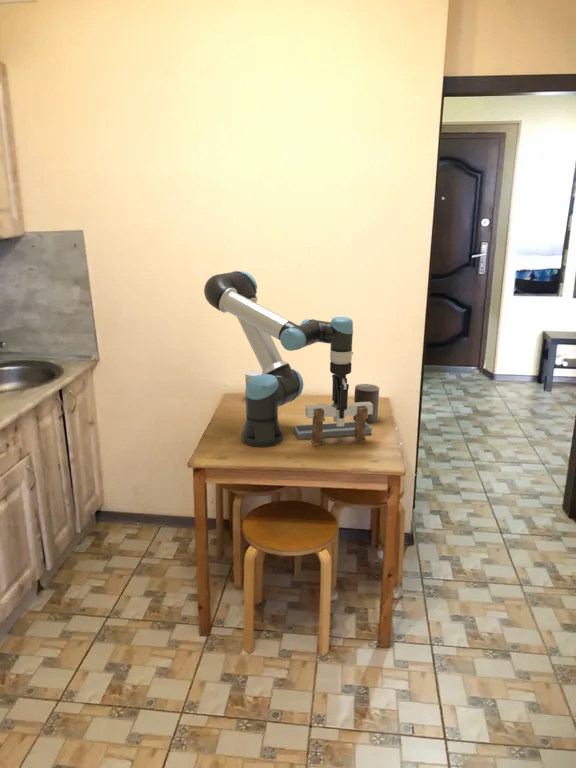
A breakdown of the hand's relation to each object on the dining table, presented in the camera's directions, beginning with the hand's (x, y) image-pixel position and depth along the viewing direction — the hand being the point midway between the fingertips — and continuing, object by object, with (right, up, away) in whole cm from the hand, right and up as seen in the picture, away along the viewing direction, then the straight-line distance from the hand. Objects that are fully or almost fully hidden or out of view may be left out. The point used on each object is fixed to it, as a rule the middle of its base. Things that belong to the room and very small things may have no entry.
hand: (338, 423), depth 222 cm
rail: (0, +3, -1) cm, 4 cm away
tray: (-2, -4, +11) cm, 12 cm away
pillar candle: (+13, 0, +25) cm, 28 cm away
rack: (0, -7, +2) cm, 7 cm away
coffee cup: (-33, +8, +49) cm, 59 cm away
